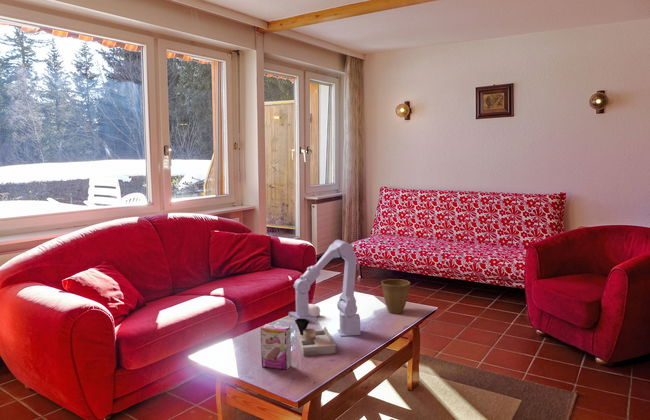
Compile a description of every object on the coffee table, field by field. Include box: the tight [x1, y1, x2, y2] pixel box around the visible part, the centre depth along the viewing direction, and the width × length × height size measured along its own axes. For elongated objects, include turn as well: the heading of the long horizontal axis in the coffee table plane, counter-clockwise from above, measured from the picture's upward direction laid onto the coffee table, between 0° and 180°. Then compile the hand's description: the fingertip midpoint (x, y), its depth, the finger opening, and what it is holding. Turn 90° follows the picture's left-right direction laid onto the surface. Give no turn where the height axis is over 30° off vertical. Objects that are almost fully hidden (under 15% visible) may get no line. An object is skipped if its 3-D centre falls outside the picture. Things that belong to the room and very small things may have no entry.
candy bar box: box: [260, 323, 292, 371], centre depth 203 cm, size 11×5×16 cm, turn 71°
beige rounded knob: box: [303, 328, 316, 340], centre depth 228 cm, size 5×5×4 cm
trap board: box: [295, 326, 337, 357], centre depth 226 cm, size 14×24×4 cm, turn 10°
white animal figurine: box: [308, 303, 321, 317], centre depth 261 cm, size 9×8×15 cm
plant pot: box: [381, 278, 411, 315], centre depth 269 cm, size 15×15×16 cm
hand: (302, 334), depth 231 cm, fingers closed
